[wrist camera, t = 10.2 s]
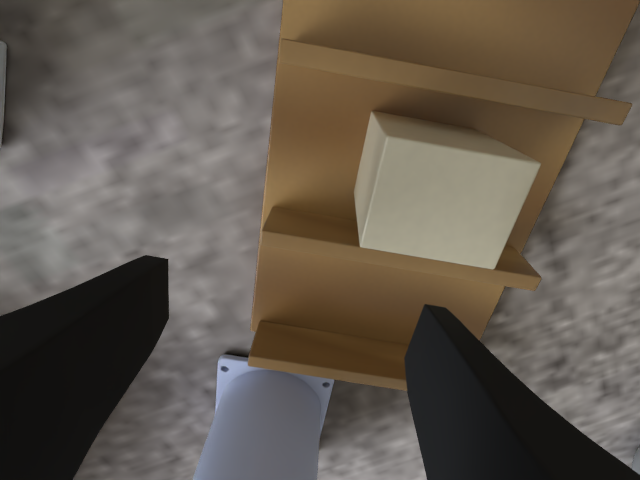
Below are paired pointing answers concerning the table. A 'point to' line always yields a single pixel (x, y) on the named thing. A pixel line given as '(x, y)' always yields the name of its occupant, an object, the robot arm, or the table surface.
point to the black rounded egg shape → (636, 461)
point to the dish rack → (420, 103)
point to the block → (438, 190)
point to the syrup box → (2, 85)
